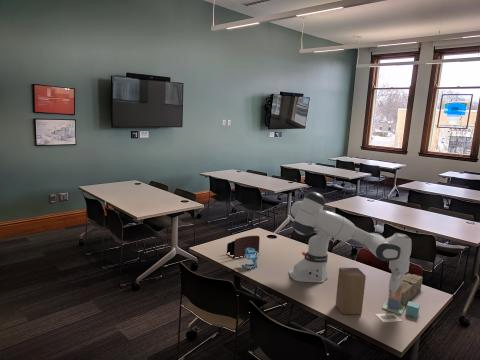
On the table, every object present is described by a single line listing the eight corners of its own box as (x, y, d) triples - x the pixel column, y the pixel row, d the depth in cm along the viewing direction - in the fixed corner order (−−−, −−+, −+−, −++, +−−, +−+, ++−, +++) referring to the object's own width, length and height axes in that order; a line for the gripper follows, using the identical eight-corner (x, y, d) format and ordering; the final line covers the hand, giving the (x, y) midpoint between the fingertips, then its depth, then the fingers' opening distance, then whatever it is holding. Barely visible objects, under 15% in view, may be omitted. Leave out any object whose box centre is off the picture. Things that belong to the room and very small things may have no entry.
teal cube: (416, 318, 172) (418, 308, 171) (405, 314, 174) (406, 305, 174) (418, 313, 176) (419, 304, 175) (407, 310, 178) (408, 301, 178)
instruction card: (383, 322, 166) (383, 321, 166) (374, 314, 173) (374, 313, 173) (402, 321, 168) (402, 320, 168) (393, 313, 175) (393, 312, 175)
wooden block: (334, 304, 181) (338, 266, 177) (354, 304, 181) (358, 267, 178) (342, 315, 171) (346, 275, 168) (362, 315, 172) (366, 275, 168)
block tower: (406, 286, 208) (386, 301, 187) (408, 272, 207) (388, 285, 186) (421, 291, 203) (402, 307, 182) (423, 277, 202) (404, 291, 181)
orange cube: (399, 300, 175) (400, 291, 174) (388, 297, 178) (389, 288, 177) (401, 297, 179) (402, 287, 179) (390, 294, 182) (392, 284, 181)
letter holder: (259, 254, 244) (260, 234, 242) (234, 259, 233) (235, 238, 231) (250, 249, 252) (251, 230, 250) (226, 254, 242) (227, 234, 239)
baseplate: (401, 315, 173) (403, 303, 173) (382, 308, 178) (383, 298, 178) (405, 307, 181) (406, 296, 180) (386, 302, 186) (387, 291, 185)
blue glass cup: (259, 268, 220) (260, 250, 218) (246, 270, 217) (247, 251, 215) (254, 264, 227) (255, 245, 226) (242, 265, 224) (243, 246, 223)
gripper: (401, 274, 166) (398, 302, 168) (409, 261, 183) (406, 287, 185) (387, 270, 169) (383, 298, 172) (396, 258, 186) (393, 283, 188)
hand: (395, 292), depth 178 cm, fingers open, 8 cm apart
